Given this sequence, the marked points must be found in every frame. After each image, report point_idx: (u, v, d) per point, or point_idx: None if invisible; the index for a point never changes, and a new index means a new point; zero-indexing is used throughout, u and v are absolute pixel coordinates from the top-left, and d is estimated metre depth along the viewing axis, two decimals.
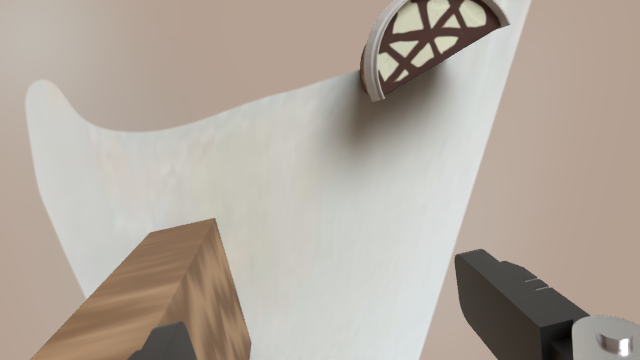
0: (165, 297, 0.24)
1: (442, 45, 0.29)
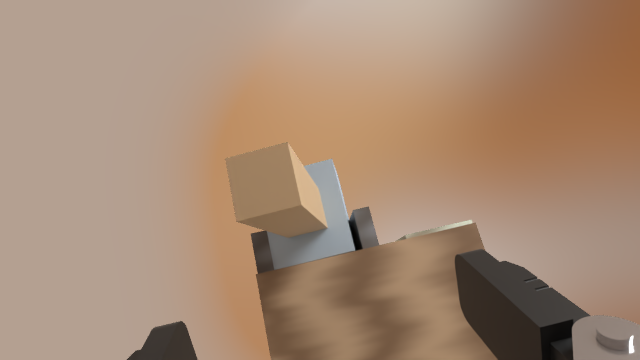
0: None
1: None
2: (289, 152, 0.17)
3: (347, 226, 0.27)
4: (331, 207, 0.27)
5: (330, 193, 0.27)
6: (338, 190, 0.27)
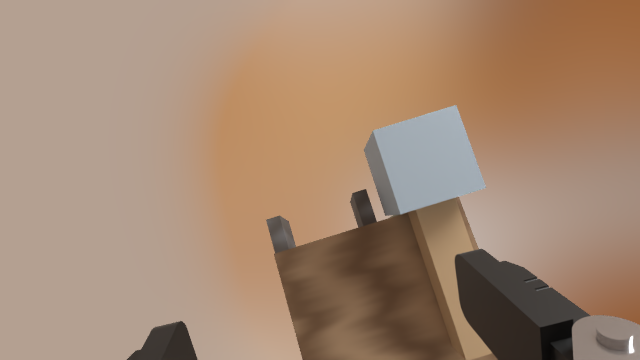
0: None
1: None
2: None
3: None
4: None
5: None
6: None
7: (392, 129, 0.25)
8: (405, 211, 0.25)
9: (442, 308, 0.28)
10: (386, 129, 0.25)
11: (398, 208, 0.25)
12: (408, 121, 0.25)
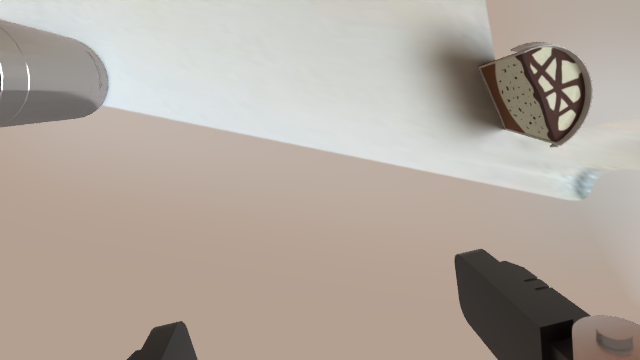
0: None
1: (550, 98, 0.40)
2: None
3: None
4: None
5: None
6: None
7: None
8: None
9: None
10: None
11: None
12: None
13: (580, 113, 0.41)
